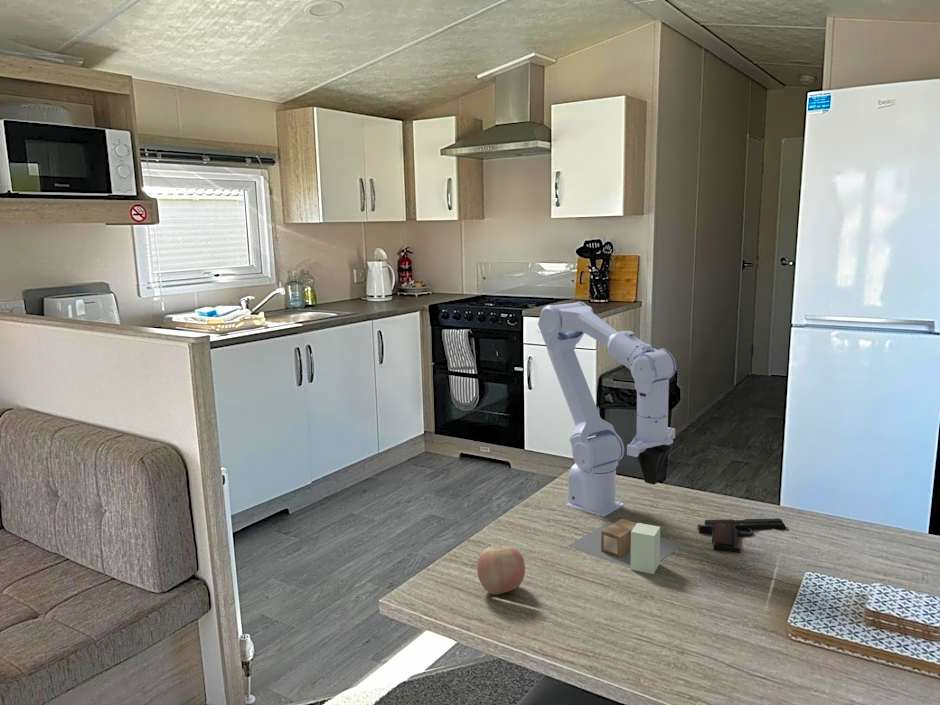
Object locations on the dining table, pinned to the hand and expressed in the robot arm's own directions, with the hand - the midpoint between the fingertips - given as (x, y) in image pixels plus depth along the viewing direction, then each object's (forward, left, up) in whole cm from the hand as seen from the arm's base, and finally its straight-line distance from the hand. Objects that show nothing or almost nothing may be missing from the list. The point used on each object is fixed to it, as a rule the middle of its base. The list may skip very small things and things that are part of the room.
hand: (651, 482), depth 138 cm
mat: (0, -9, -10) cm, 13 cm away
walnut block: (0, -7, -8) cm, 10 cm away
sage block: (+7, -14, -10) cm, 18 cm away
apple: (-7, -36, -10) cm, 38 cm away
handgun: (+16, +9, -11) cm, 21 cm away
